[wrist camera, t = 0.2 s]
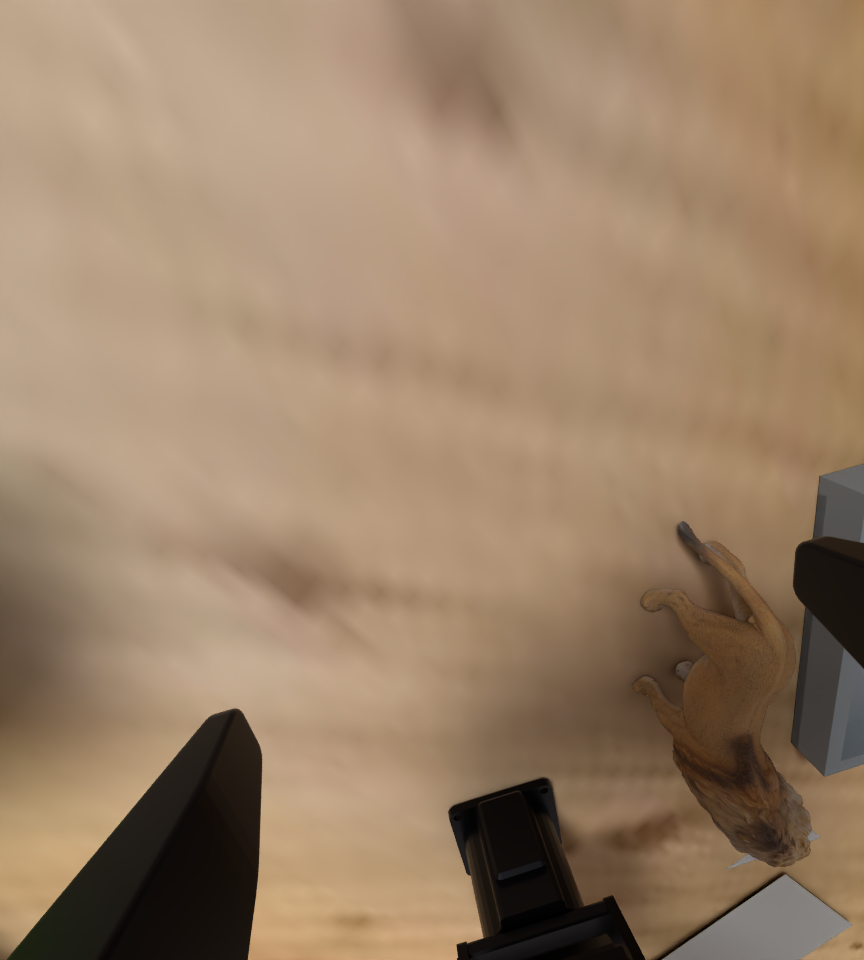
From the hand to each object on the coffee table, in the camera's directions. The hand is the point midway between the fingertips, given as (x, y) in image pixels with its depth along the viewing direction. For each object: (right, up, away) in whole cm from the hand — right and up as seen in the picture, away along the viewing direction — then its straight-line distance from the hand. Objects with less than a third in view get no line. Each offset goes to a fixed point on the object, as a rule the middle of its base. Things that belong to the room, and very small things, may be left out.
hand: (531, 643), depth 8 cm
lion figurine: (+12, -6, +20) cm, 25 cm away
